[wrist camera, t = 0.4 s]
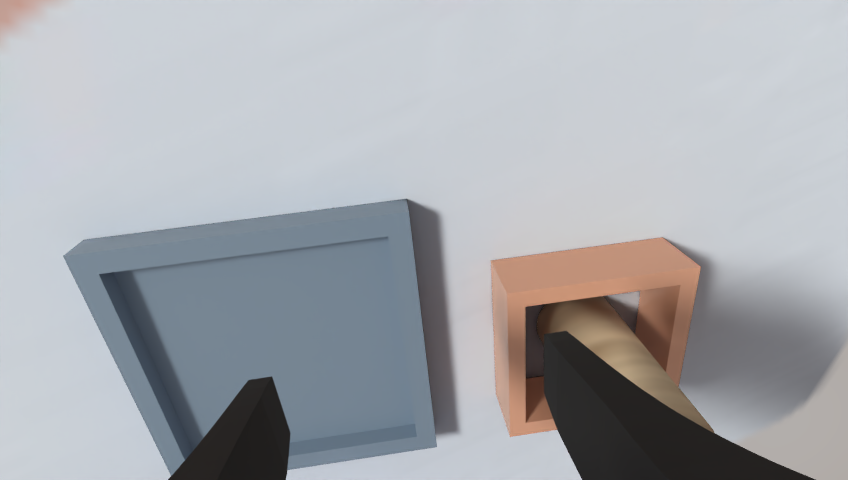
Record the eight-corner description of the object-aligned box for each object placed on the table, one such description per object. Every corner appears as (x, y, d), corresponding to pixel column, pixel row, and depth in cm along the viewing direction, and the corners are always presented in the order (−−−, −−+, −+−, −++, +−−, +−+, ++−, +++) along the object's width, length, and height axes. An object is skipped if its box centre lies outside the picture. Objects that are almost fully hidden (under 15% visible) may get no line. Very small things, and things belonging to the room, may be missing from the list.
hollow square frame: (643, 371, 27) (673, 411, 24) (496, 394, 27) (510, 436, 24) (662, 237, 23) (701, 266, 21) (491, 260, 23) (507, 293, 20)
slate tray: (433, 425, 27) (436, 446, 26) (186, 462, 26) (176, 487, 25) (406, 199, 21) (409, 211, 20) (83, 240, 20) (63, 255, 19)
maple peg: (607, 345, 26) (705, 483, 18) (536, 355, 26) (606, 500, 18) (613, 283, 24) (725, 408, 17) (536, 293, 24) (614, 425, 16)
